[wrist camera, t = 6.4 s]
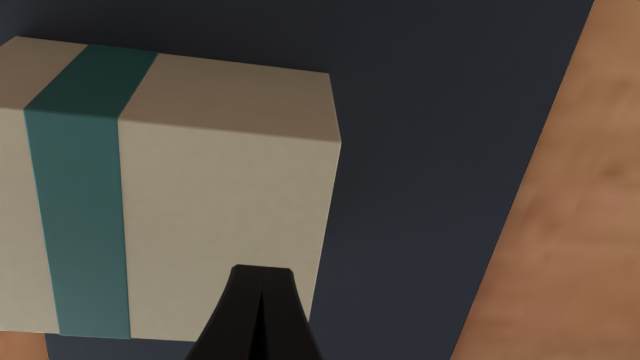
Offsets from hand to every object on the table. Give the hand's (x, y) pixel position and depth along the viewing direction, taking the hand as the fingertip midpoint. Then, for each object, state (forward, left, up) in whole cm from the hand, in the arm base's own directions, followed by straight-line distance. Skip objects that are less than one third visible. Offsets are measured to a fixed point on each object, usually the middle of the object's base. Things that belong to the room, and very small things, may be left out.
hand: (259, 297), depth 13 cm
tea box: (-2, 0, -4) cm, 4 cm away
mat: (0, +2, -6) cm, 7 cm away
